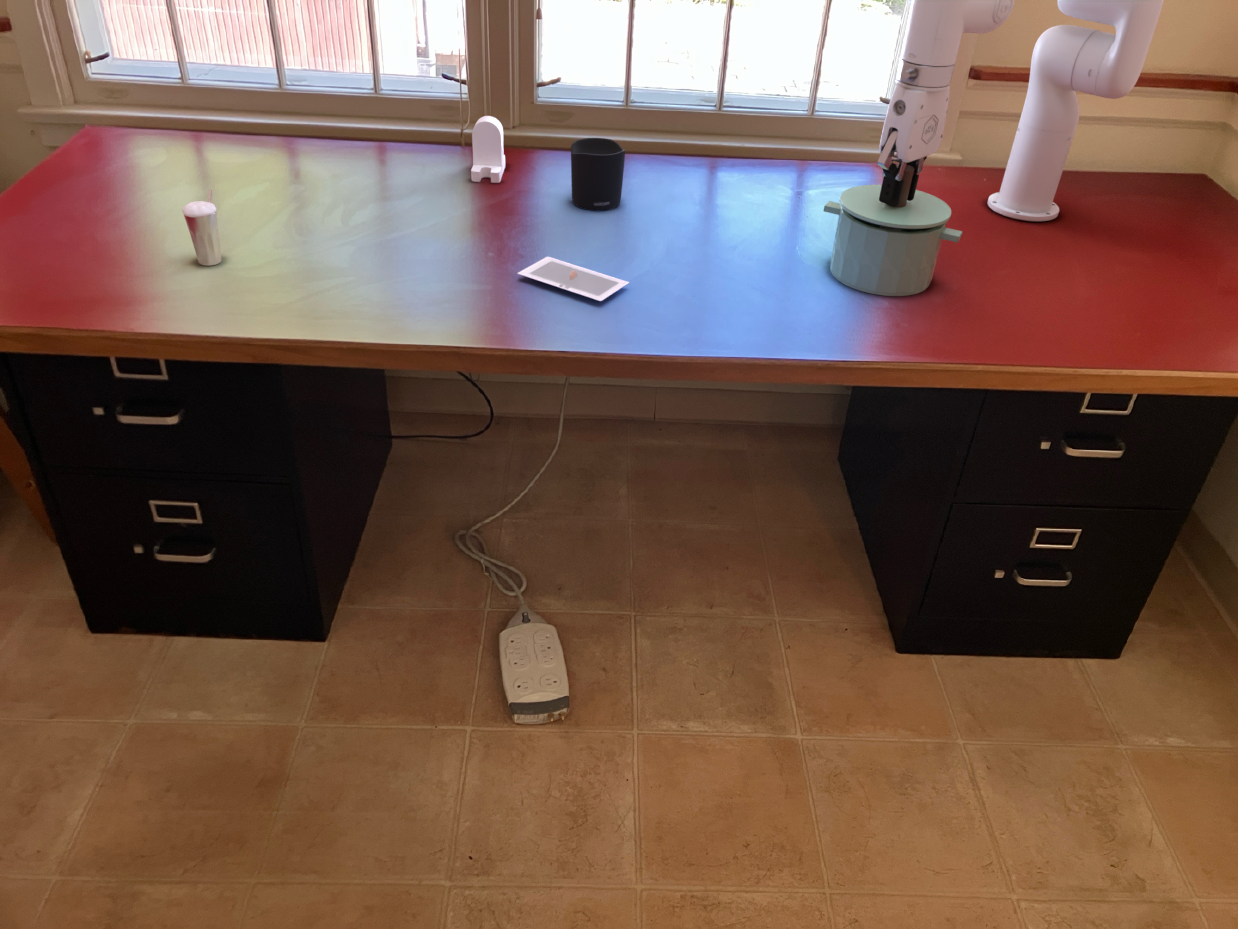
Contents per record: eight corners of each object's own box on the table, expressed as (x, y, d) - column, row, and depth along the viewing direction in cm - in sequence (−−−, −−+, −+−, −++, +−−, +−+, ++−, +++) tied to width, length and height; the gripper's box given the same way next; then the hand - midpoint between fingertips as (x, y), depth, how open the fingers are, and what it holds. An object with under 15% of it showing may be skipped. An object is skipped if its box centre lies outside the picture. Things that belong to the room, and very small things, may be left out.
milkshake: (236, 256, 147) (223, 192, 142) (213, 269, 143) (199, 204, 137) (211, 251, 149) (197, 187, 143) (187, 264, 144) (172, 199, 139)
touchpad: (547, 262, 151) (547, 249, 150) (629, 289, 145) (629, 275, 144) (517, 280, 145) (516, 266, 144) (600, 308, 139) (601, 294, 138)
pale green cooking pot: (832, 242, 163) (843, 184, 157) (957, 273, 155) (973, 213, 149) (800, 275, 152) (810, 213, 146) (933, 310, 144) (949, 246, 138)
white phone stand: (505, 164, 186) (504, 111, 180) (499, 182, 178) (498, 127, 172) (478, 163, 186) (476, 110, 180) (471, 181, 178) (468, 126, 172)
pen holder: (561, 206, 170) (561, 149, 165) (582, 189, 178) (584, 134, 172) (610, 216, 168) (613, 158, 162) (630, 198, 175) (633, 143, 169)
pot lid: (857, 184, 156) (866, 141, 152) (960, 206, 150) (972, 163, 146) (823, 215, 144) (831, 170, 140) (934, 241, 138) (945, 195, 134)
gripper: (915, 88, 129) (886, 221, 139) (977, 71, 138) (946, 196, 149) (868, 76, 133) (843, 205, 144) (931, 60, 143) (904, 182, 153)
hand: (896, 199), depth 146 cm, fingers closed on pot lid, 3 cm apart
